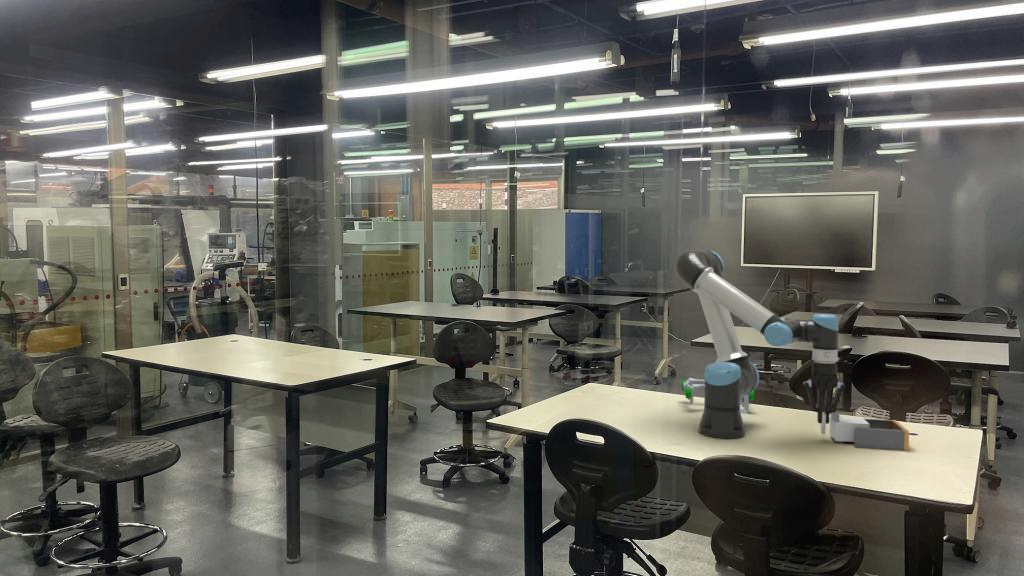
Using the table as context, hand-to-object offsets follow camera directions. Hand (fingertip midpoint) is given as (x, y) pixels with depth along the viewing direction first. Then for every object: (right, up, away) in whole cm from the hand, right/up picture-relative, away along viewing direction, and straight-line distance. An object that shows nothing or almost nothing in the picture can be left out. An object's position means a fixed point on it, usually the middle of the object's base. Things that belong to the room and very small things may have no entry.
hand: (822, 433), depth 223 cm
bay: (+15, -2, -3) cm, 15 cm away
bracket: (-21, 0, +46) cm, 51 cm away
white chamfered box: (+8, -2, -1) cm, 8 cm away
